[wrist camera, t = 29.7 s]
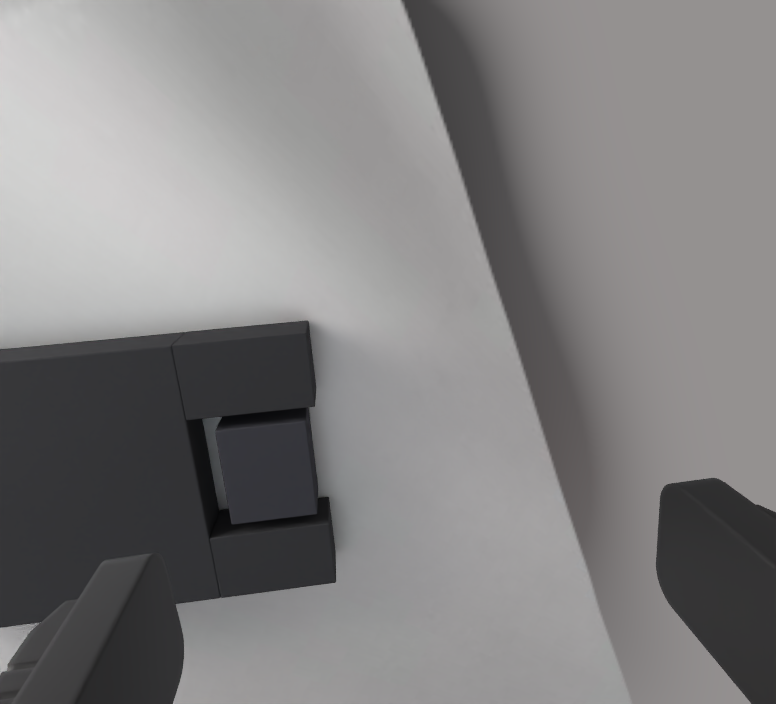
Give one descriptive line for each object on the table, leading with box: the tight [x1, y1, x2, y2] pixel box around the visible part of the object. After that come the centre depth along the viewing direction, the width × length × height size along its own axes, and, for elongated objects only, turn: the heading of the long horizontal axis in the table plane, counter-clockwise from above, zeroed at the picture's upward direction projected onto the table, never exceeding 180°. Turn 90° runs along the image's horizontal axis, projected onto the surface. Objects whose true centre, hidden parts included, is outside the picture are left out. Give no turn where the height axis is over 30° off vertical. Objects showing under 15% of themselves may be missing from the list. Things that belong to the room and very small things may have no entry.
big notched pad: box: [0, 321, 336, 628], centre depth 31 cm, size 24×16×3 cm, turn 94°
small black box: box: [215, 407, 318, 524], centre depth 32 cm, size 5×6×3 cm
